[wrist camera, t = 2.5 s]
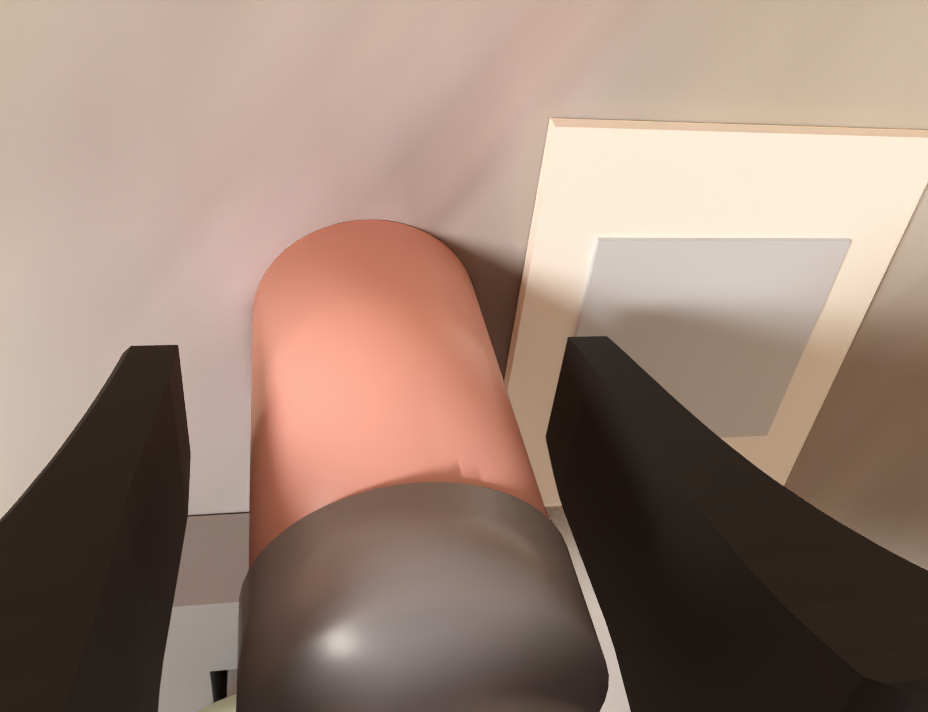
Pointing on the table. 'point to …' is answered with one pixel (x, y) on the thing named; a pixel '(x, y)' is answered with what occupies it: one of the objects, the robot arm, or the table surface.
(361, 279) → the marker
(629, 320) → the cream rectangular plate
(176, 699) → the button housing
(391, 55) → the table surface
